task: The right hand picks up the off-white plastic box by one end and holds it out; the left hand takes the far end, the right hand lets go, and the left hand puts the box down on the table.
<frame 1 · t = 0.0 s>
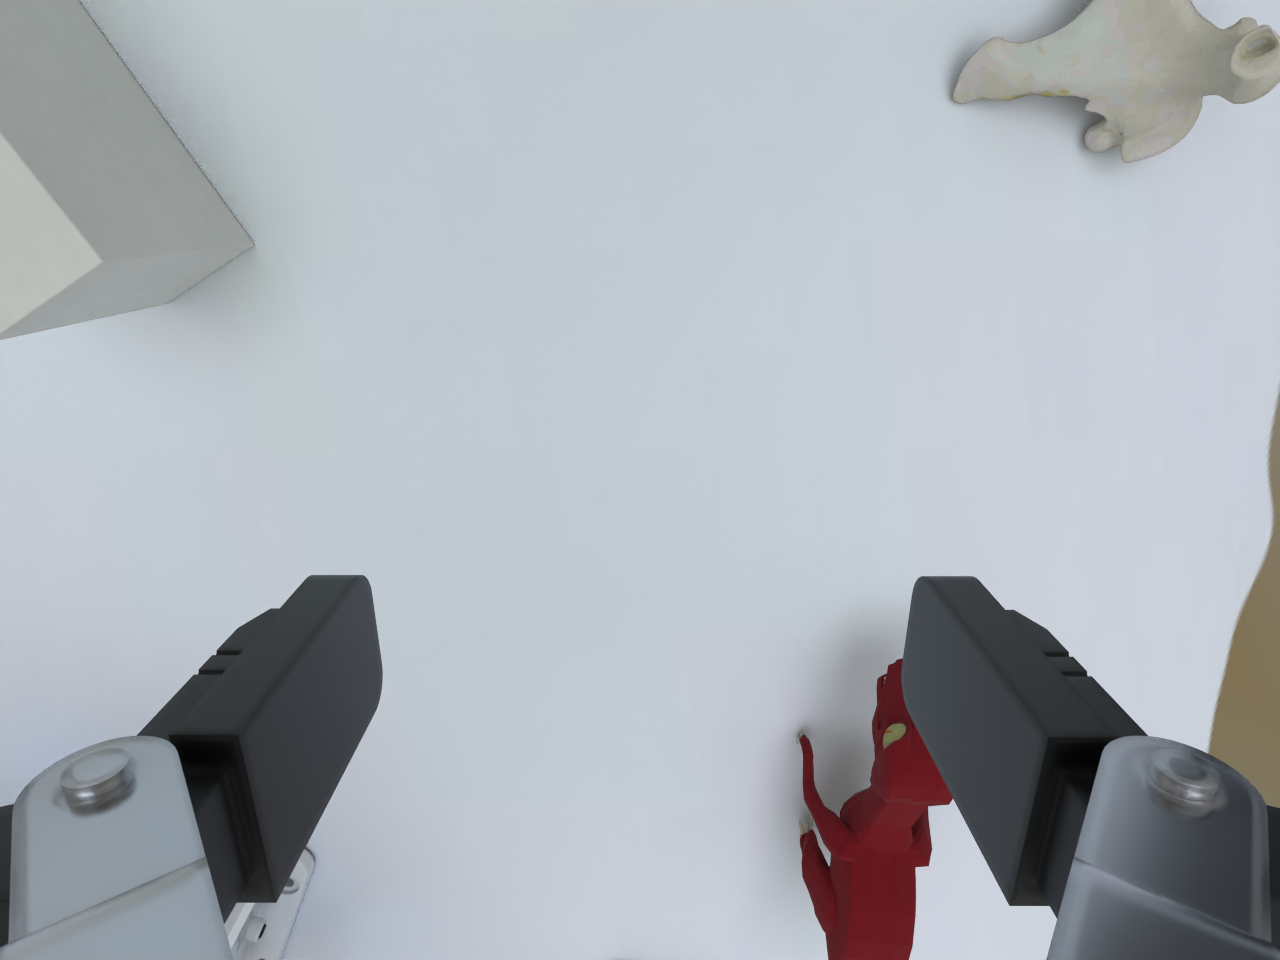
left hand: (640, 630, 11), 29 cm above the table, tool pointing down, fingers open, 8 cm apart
toy 2: (837, 788, 49), on the table
box: (30, 35, 34), on the table
bone: (1078, 35, 34), on the table
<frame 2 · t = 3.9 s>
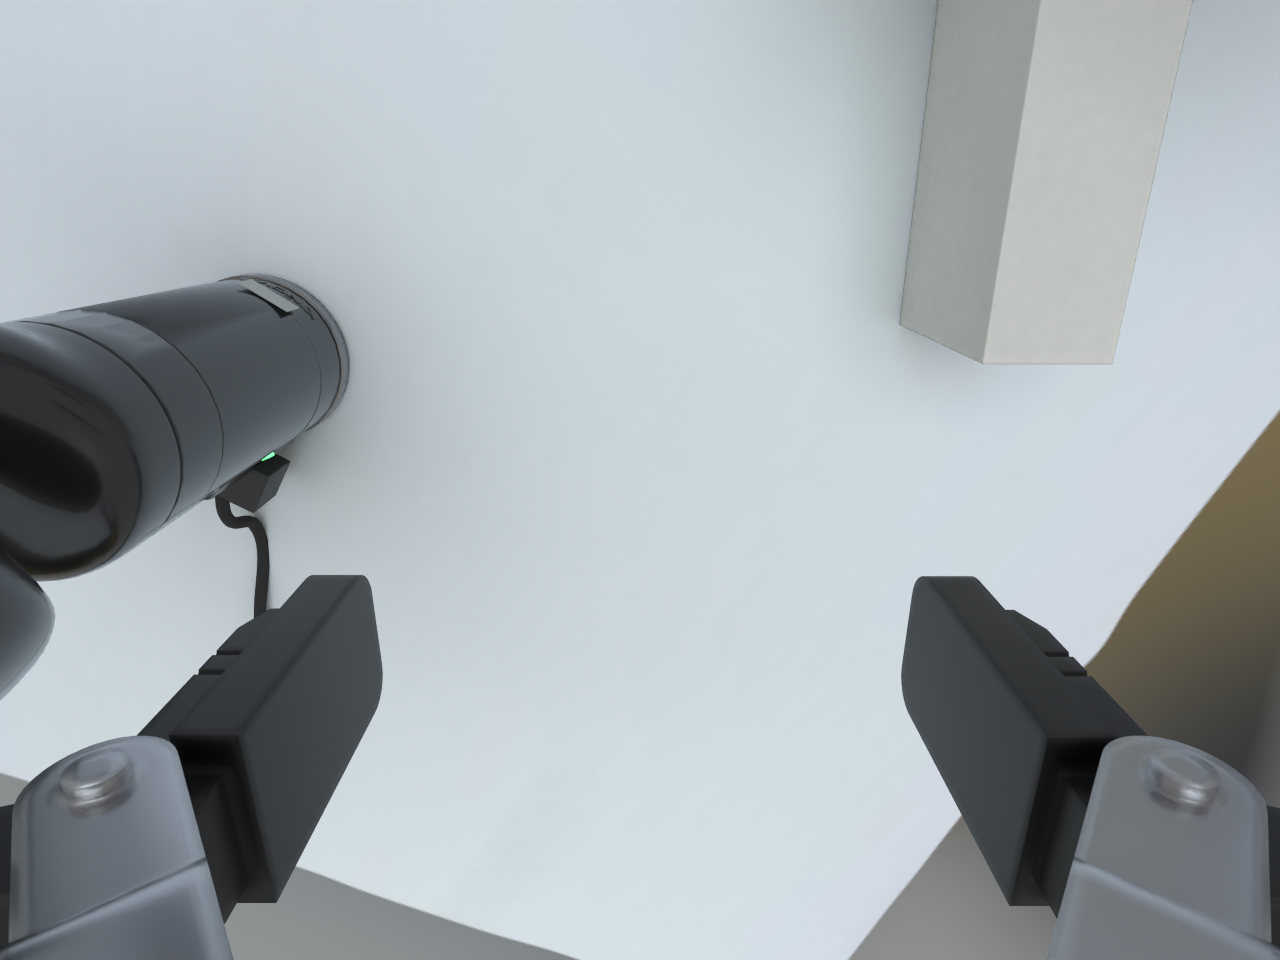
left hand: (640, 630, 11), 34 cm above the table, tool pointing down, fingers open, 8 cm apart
box: (981, 91, 40), on the table, touching right hand
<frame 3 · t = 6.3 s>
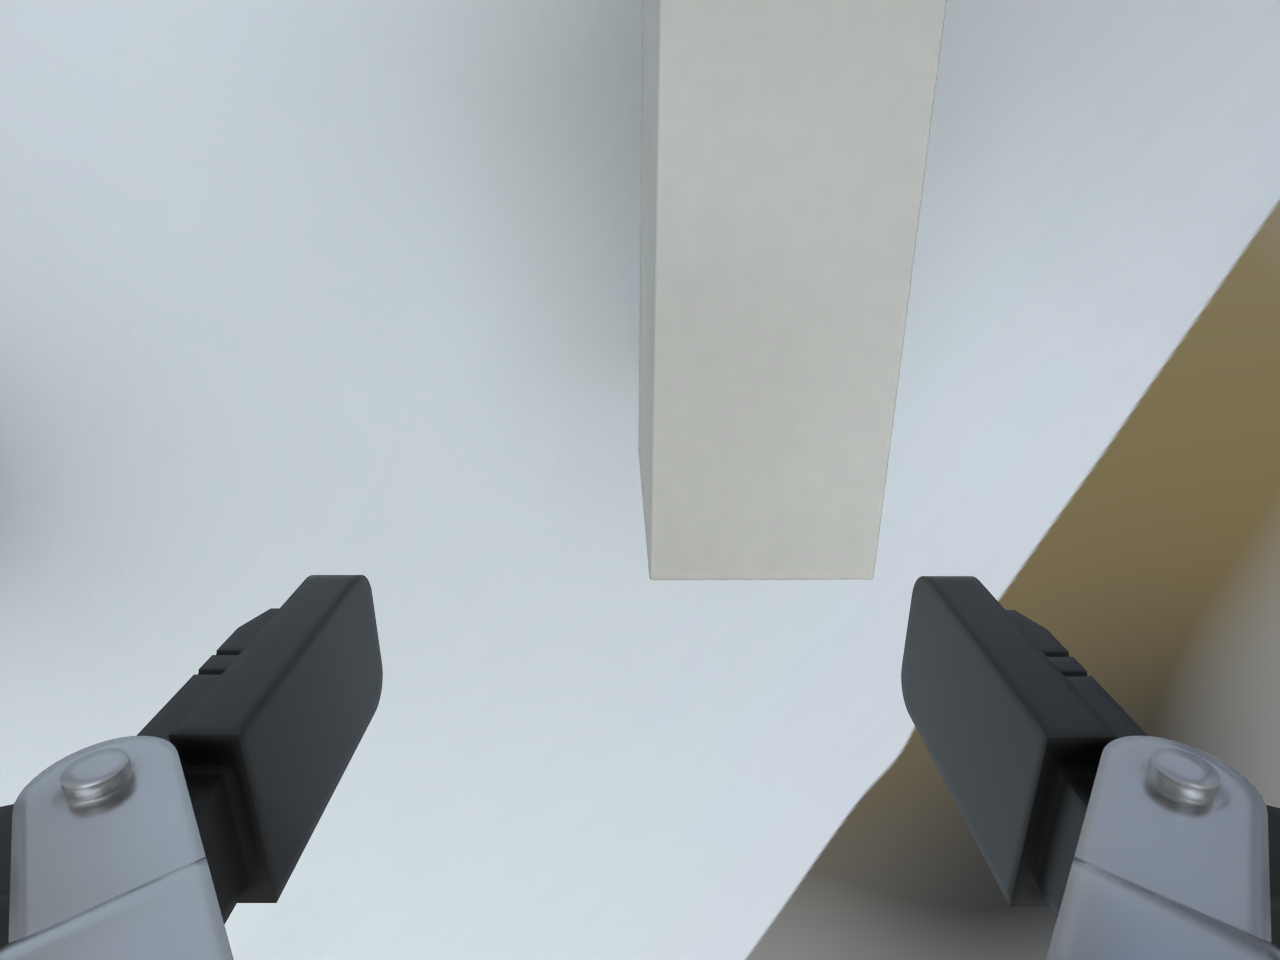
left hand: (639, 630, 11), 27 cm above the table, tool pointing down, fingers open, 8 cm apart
box: (725, 112, 26), point 9 cm above the table, touching right hand
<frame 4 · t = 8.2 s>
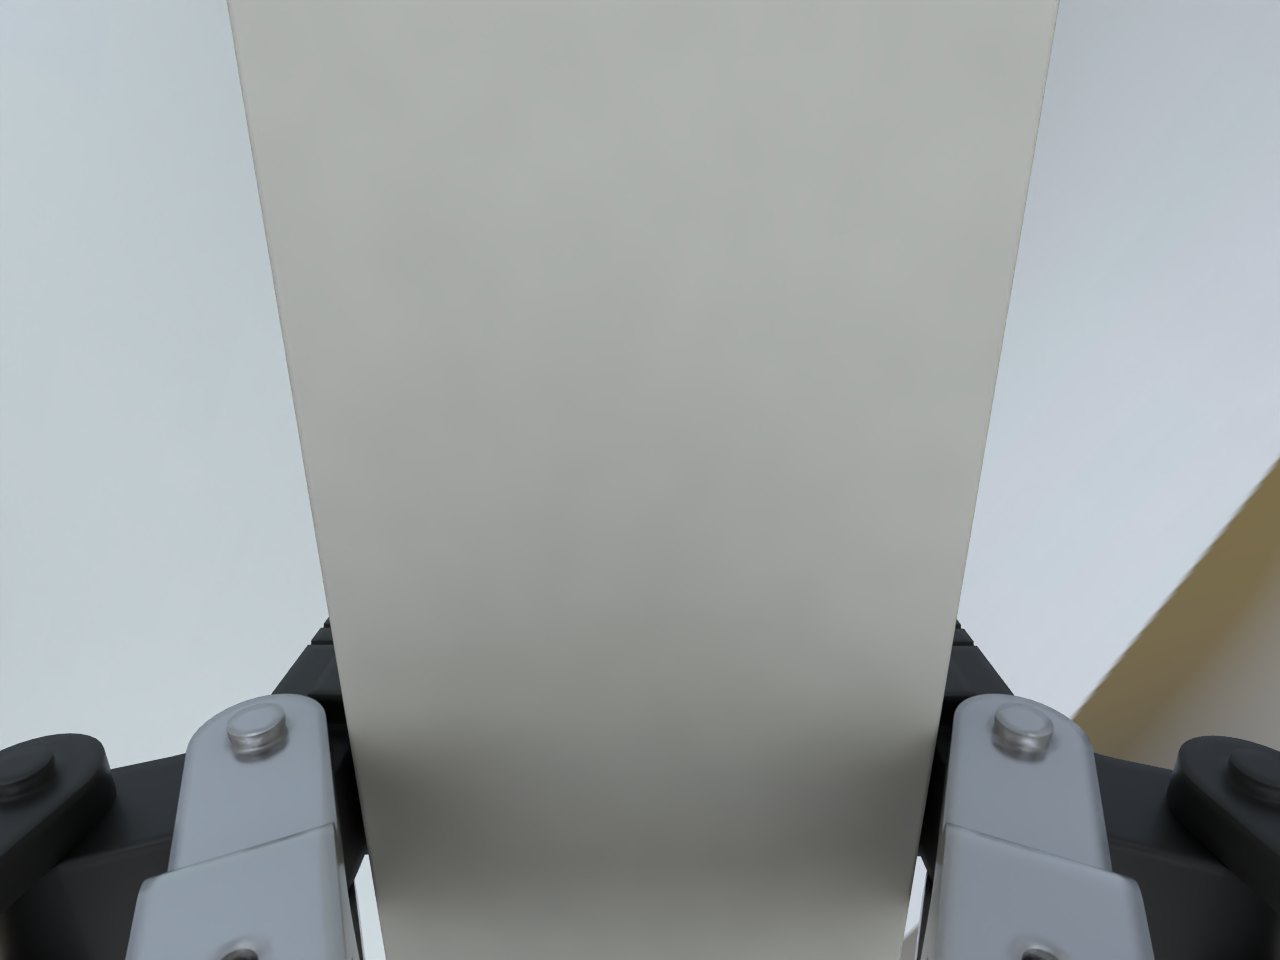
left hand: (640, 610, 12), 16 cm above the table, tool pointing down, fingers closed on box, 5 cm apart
box: (639, 32, 15), point 9 cm above the table, touching left hand, right hand
when the right hand's fingers open (15 cm above the table, at t = 9.3 s): box moves 1 cm, held by the left hand.
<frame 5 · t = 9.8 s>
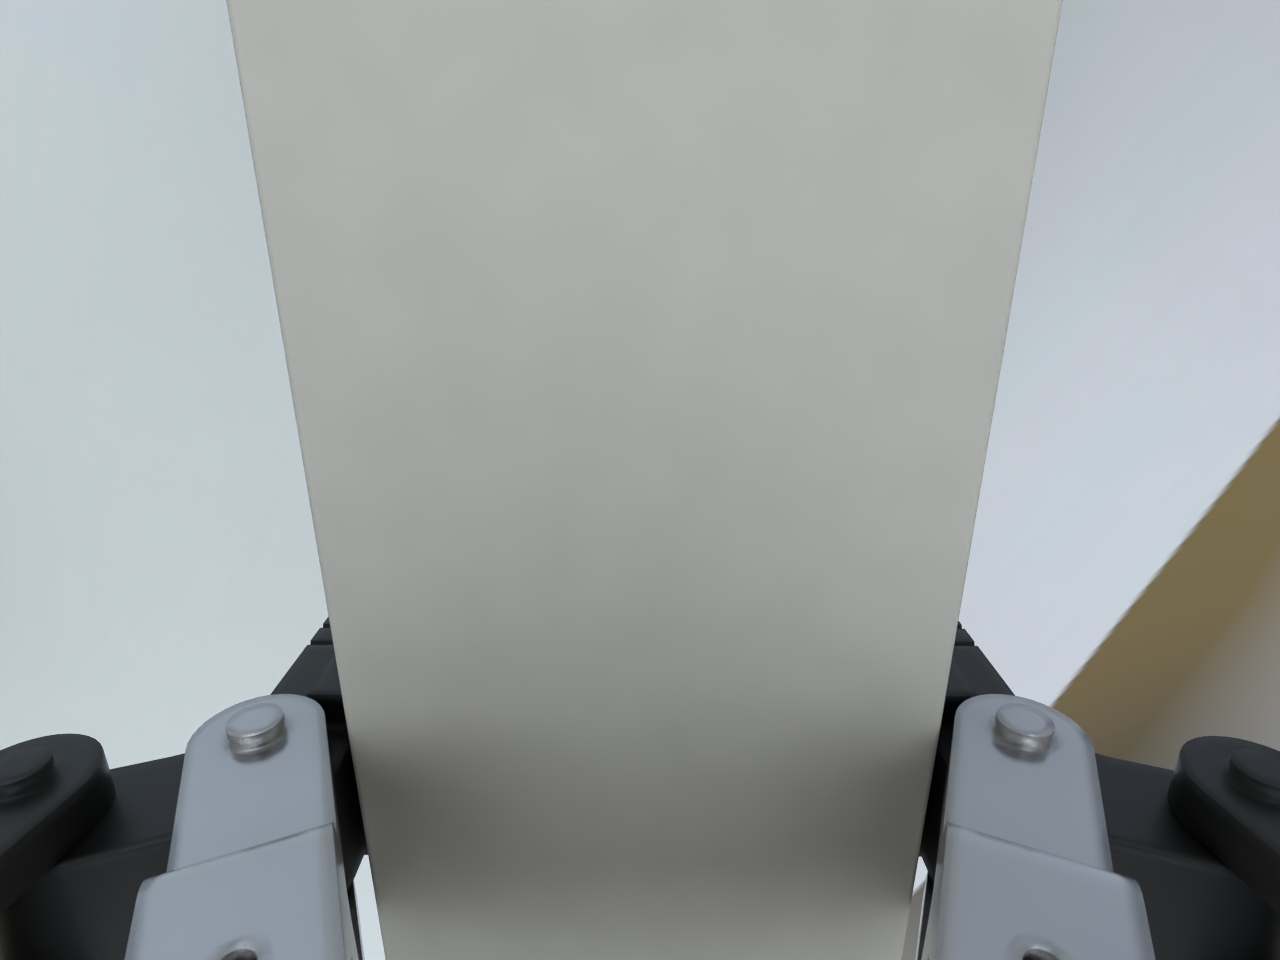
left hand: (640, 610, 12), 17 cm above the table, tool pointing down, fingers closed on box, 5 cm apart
box: (640, 32, 15), point 10 cm above the table, touching left hand
when the left hand's fingers open (8 cm above the table, at t = 14.1 s): box drops 1 cm, on the table.
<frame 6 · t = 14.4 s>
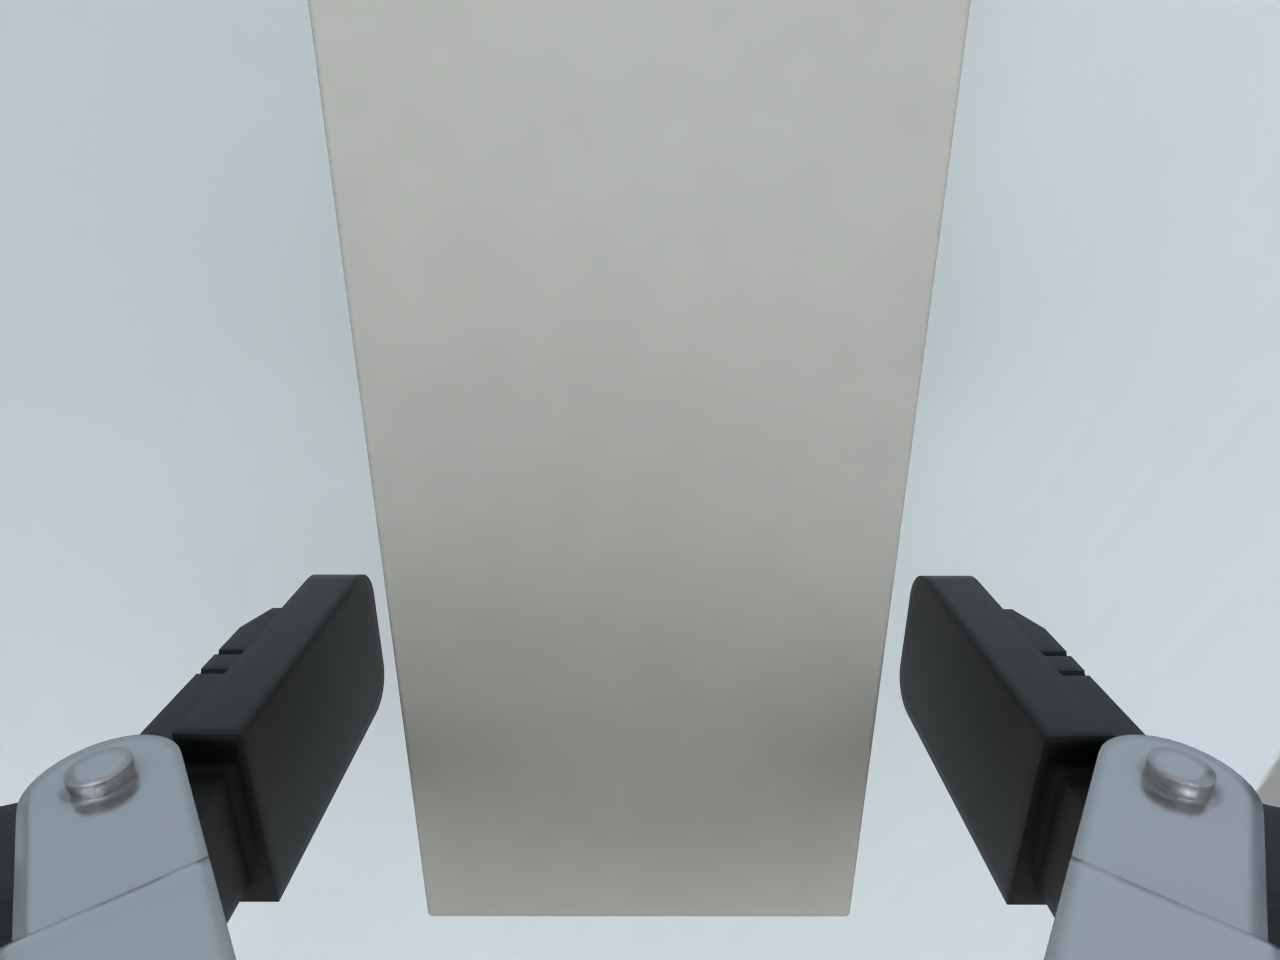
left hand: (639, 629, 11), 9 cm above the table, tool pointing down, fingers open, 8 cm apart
box: (639, 57, 17), on the table
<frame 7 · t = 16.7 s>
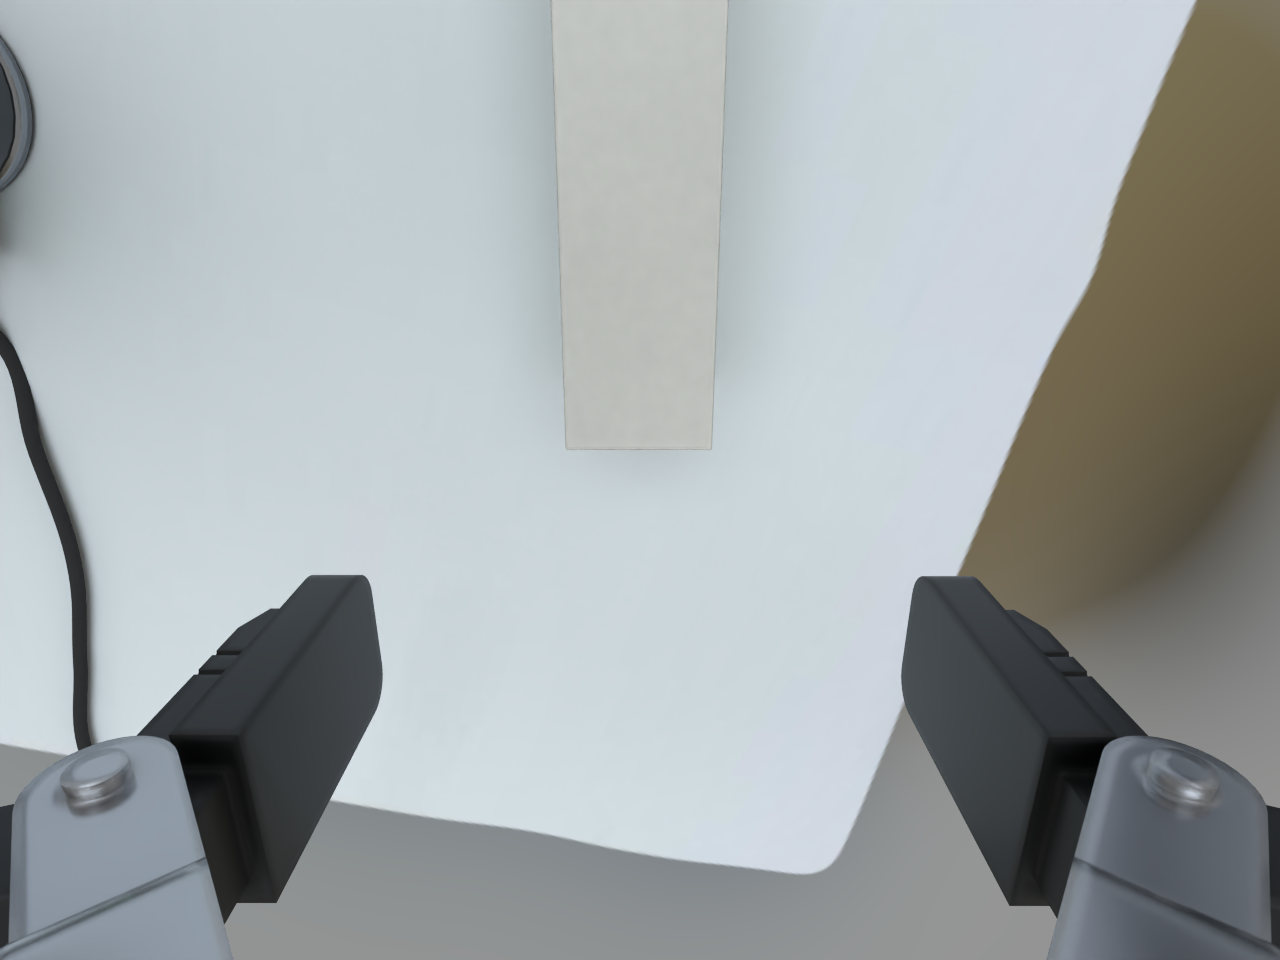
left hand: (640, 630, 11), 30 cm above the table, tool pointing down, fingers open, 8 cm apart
box: (639, 136, 36), on the table
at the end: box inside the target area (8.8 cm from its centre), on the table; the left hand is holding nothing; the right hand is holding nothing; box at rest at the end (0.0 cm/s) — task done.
